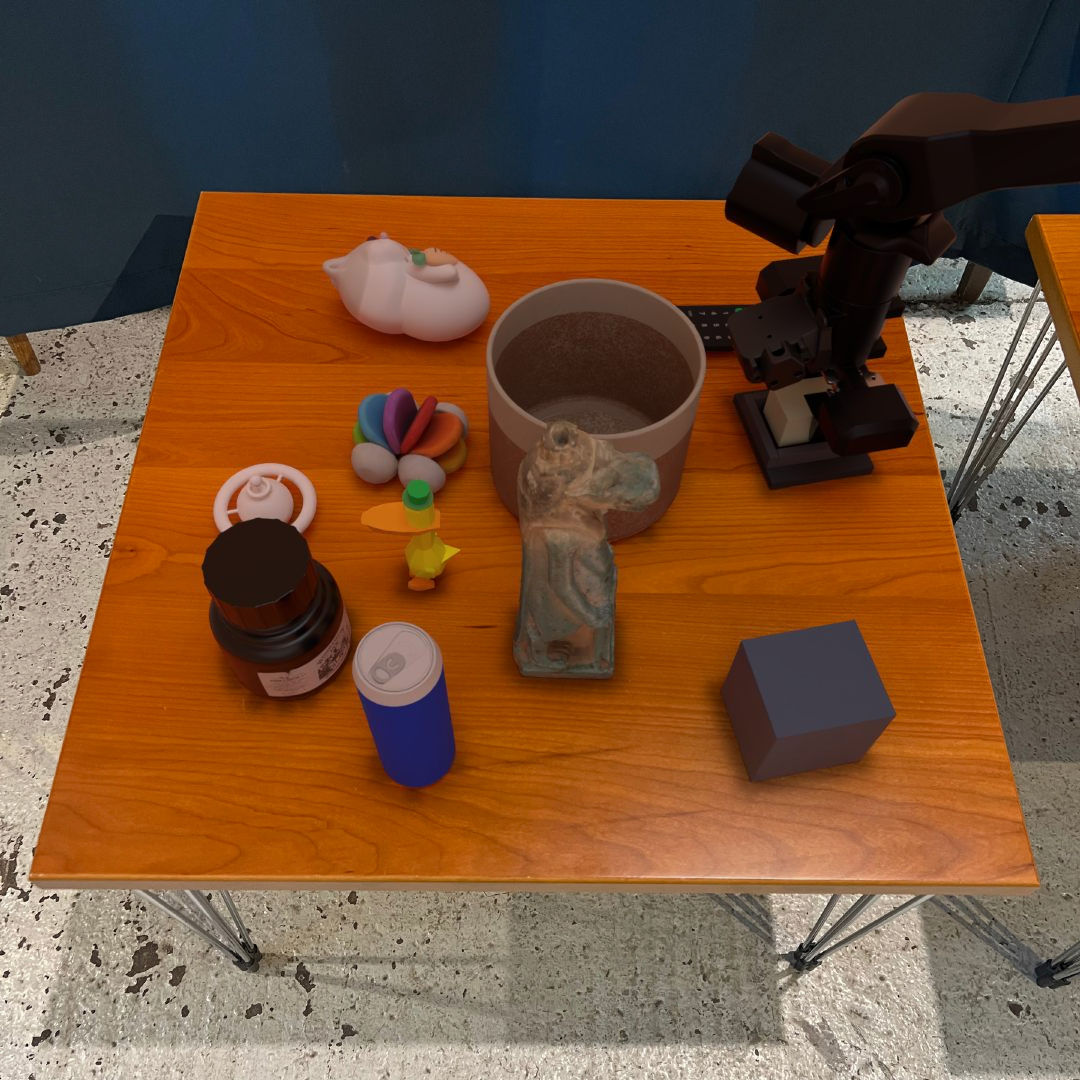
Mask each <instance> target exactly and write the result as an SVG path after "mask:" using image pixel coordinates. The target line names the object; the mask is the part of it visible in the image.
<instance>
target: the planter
mask: <svg viewBox="0 0 1080 1080" xmlns="http://www.w3.org/2000/svg"><path fill="white" fill-rule="evenodd" d="M676 306H677V305H675V304H673V303H672V302H671V301H670V300H668V299H666V298H665V297H663V296H661V295H660V294H657V293H656V292H654V291H651V290H649V289H647V288H644V287H642V286H639V285H636V284H633V283H630V282H626V281H621V280H616V279H609V278H608V279H607V278H597V277H595V278H594V277H593V278H591V277H589V278H575V279H566V280H561V281H557V282H552V283H549V284H546V285H543V286H541V287H538V288H536V289H534V290H532V291H530V292H528V293H526V294H525V295H523V296H521V297H520V298H518V299H517V300H516V301H514V302H513V303H511V304H510V305H509V306H508V307H507V308H506V309H505V310H504V311H503V312H502V313H501V315H500V316H499V317H498V319H497V320H496V321H495V322H494V325H493V326H492V329H491V330H490V333H489V336H488V338H487V343H486V349H485V364H486V365H485V366H486V389H487V416H488V439H489V442H488V443H489V444H488V445H489V467H490V468H489V469H490V475H491V480H492V484H493V487H494V489H495V491H496V493H497V495H498V497H499V499H500V500H501V502H502V503H503V505H504V506H505V507H506V508H507V510H509V512H510V513H511V514H513V516H514V517H516V518H517V520H519V508H518V499H517V478H518V473H519V466H520V464H521V461H522V459H525V457H526V455H527V453H528V451H529V450H530V448H531V447H532V446H533V445H534V444H535V443H536V442H537V441H539V440H540V439H541V436H542V434H543V433H544V431H545V430H546V429H547V422H556V421H563V420H565V421H567V422H570V423H572V424H575V425H577V429H579V430H581V431H584V432H586V433H587V434H588V435H589V436H590V437H592V438H593V439H598V440H609V441H610V442H612V443H613V446H614V449H615V450H616V451H619V452H621V453H623V454H625V453H633V452H640V453H645V454H648V455H650V456H652V459H653V461H654V462H655V463H656V464H657V467H658V470H659V475H660V486H661V491H660V496H659V498H658V499H657V500H656V501H655V502H654V503H651V504H648V506H647V508H646V510H644V511H641V512H639V513H635V512H626V511H621V510H616V509H609V510H608V512H607V513H605V514H604V516H605V519H606V522H607V526H608V530H609V536H608V538H607V540H606V541H608V542H609V543H611V542H615V541H620V540H623V539H627V538H629V537H632V536H634V535H636V534H638V533H640V532H642V531H644V530H645V529H647V528H649V527H650V526H652V525H653V524H654V523H656V522H657V521H658V520H659V519H661V517H662V516H663V515H664V514H665V513H666V512H667V511H668V509H669V508H670V507H671V505H672V504H673V502H674V501H675V499H676V496H677V494H678V492H679V489H680V486H681V481H682V477H683V474H684V469H685V464H686V459H687V455H688V451H689V448H690V443H691V438H692V434H693V430H694V425H695V421H696V417H697V412H698V408H699V404H700V399H701V395H702V390H703V388H704V387H703V386H704V383H705V377H706V373H707V355H706V352H705V349H704V345H703V342H702V340H701V337H700V335H699V333H698V331H697V330H696V328H695V326H694V325H693V324H692V322H691V321H690V320H689V318H688V317H687V316H686V315H685V314H684V313H683V312H682V311H681V310H680V309H678V308H677V307H676Z"/></svg>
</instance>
